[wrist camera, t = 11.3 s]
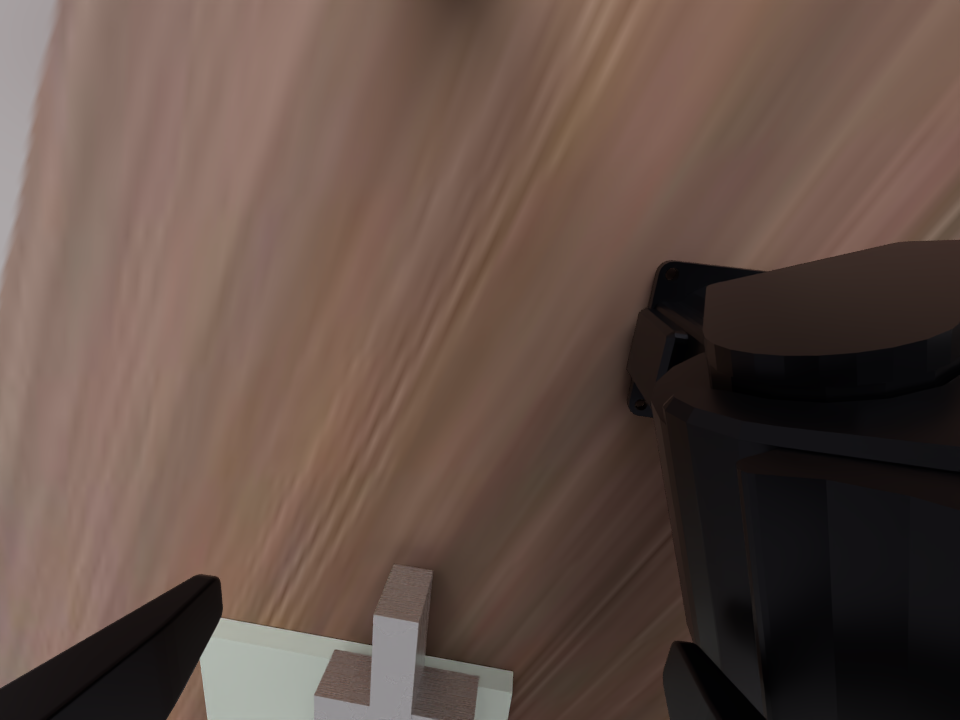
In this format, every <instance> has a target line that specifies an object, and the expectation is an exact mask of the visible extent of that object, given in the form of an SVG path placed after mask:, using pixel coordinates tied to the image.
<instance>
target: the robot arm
mask: <svg viewBox="0 0 960 720" xmlns="http://www.w3.org/2000/svg"><path fill="white" fill-rule="evenodd" d="M670 268H674V269H675V270H676V275H675V277H674V278H673V279H671V280H667V279H666V277H665V274H666V272H667V270H668V269H670ZM627 371H628V373H629V374H630V376H631V377H632V381H631V385H630V389H629V394H628V398H627V405H628V407H629V409H630V411H631V412H632V413H633V414H635V415H638V416H645V417H652V418H653V419H654V425H655V431H656V437H657V443H658V449H659V455H660V462H661V468H662V474H663V480H664V486H665V492H666V498H667V504H668V511H669V517H670V523H671V529H672V535H673V541H674V547H675V554H676V560H677V566H678V572H679V578H680V584H681V590H682V597H683V603H684V609H685V615H686V621H687V625H688V628H689V631H690V634H691V637H692V641H693V643H691V642H684V641H674V642H673V643H672V645H671V648H670V651H669V654H668V657H667V661H666V664H665V667H664V671H663V685H664V691H665V696H666V701H667V706H668V711H669V717H670V720H960V240H941V241H909V242H898V243H892V244H888V245H883V246H879V247H874V248H870V249H866V250H861V251H857V252H852V253H848V254H843V255H839V256H835V257H830V258H826V259H821V260H817V261H812V262H808V263H804V264H799V265H795V266H790V267H786V268H781V269H777V270H773V271H760V270H751V269H743V268H734V267H725V266H717V265H708V264H699V263H691V262H682V261H673V260H671V261H666V262H664V263H662V264H661V265H660V266H659V267H658V269H657V271H656V275H655V280H654V284H653V288H652V293H651V297H650V302H649V306H648V308H645V309H643V310H642V311H641V312H639V314H638V319H637V323H636V328H635V332H634V337H633V341H632V346H631V350H630V355H629V359H628V364H627ZM640 399H643V400H645V403H644V405H642V406H639V407H637V406H635V403H636V401H638V400H640ZM222 611H223V604H222V592H221V582H220V579H219V578H218V577H216V576H210V575H203V574H199V575H196V576H193V577H192V578H190V579H188V580H186V581H185V582H183V583H181V584H179V585H178V586H176V587H174V588H173V589H171V590H169V591H167V592H166V593H164V594H162V595H160V596H159V597H157V598H155V599H154V600H152V601H150V602H148V603H147V604H145V605H143V606H141V607H140V608H138V609H136V610H135V611H133V612H131V613H129V614H128V615H126V616H124V617H123V618H121V619H119V620H117V621H116V622H114V623H112V624H110V625H109V626H107V627H105V628H104V629H102V630H100V631H98V632H97V633H95V634H93V635H91V636H90V637H88V638H86V639H85V640H83V641H81V642H79V643H78V644H76V645H74V646H72V647H71V648H69V649H67V650H66V651H64V652H62V653H60V654H59V655H57V656H55V657H54V658H52V659H50V660H48V661H47V662H45V663H43V664H41V665H40V666H38V667H36V668H35V669H33V670H31V671H29V672H28V673H26V674H24V675H22V676H21V677H19V678H17V679H16V680H14V681H12V682H10V683H9V684H7V685H5V686H3V687H2V688H0V720H166V719H167V717H168V716H169V714H170V713H171V711H172V709H173V708H174V706H175V704H176V702H177V701H178V699H179V697H180V695H181V693H182V692H183V690H184V688H185V686H186V684H187V682H188V680H189V678H190V676H191V674H192V673H193V671H194V669H195V667H196V665H197V663H198V661H199V659H200V657H201V655H202V654H203V652H204V650H205V648H206V646H207V644H208V642H209V640H210V638H211V636H212V635H213V633H214V631H215V629H216V627H217V625H218V623H219V621H220V618H221V615H222Z"/></svg>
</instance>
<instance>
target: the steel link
mask: <svg viewBox="0 0 960 720" xmlns="http://www.w3.org/2000/svg"><path fill="white" fill-rule="evenodd" d="M432 578H433V570H427V569H421V568H415V567H410V566H404V565H398V564H393V567H392V569H391V572H390V574H389V577H388V579H387V582H386V585H385V587H384V590H383V592H382V595H381V597H380V600H379V602H378V605H377V607H376V610H375V612H374V616H373V640H372V656H369V655H363V654H358V653H353V652H347V651H342V650H337V649H335V650H334V652H333V654H332V657H331V659H330V661H329V663H328V665H327V668H326V670H325V672H324V674H323V676H322V679H321V681H320V683H319V685H318V687H317V690H316V692H315V694H314V720H474V716H475V708H476V699H477V690H478V681H479V676H475V675H469V674H464V673H459V672H454V671H448V670H443V669H438V668H432V667H427V666H424V663H425V652H426V642H427V631H428V620H429V610H430V599H431V588H432Z"/></svg>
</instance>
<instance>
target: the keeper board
mask: <svg viewBox="0 0 960 720" xmlns="http://www.w3.org/2000/svg"><path fill="white" fill-rule="evenodd" d="M335 649H337V650H342V651H347V652H353V653H358V654H363V655H369V656H372V645H366V644H361V643H356V642H350V641H345V640H339V639H334V638H328V637H323V636H318V635H312V634H307V633H301V632H296V631H290V630H285V629H279V628H274V627H269V626H263V625H258V624H252V623H247V622H241V621H236V620H230V619H225V618H220V621H219V623H218V625H217V627H216V629H215V631H214V633H213V635H212V636H211V638H210V640H209V642H208V644H207V646H206V648H205V650H204V652H203V654H202V655H201V657H200V664H201V672H202V679H203V687H204V695H205V703H206V710H207V718H208V720H314V694H315V692H316V690H317V687H318V685H319V683H320V681H321V679H322V676H323V674H324V672H325V670H326V668H327V665H328V663H329V661H330V659H331V657H332V654H333V652H334V650H335ZM424 666H427V667H432V668H438V669H443V670H448V671H454V672H459V673H464V674H469V675H475V676H479V681H478V690H477V699H476V708H475V716H474V720H508V714H509V709H510V703H511V698H512V689H513V671H508V670H502V669H497V668H492V667H486V666H481V665H475V664H470V663H464V662H459V661H453V660H448V659H443V658H437V657H432V656H426V655H425V663H424Z"/></svg>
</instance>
